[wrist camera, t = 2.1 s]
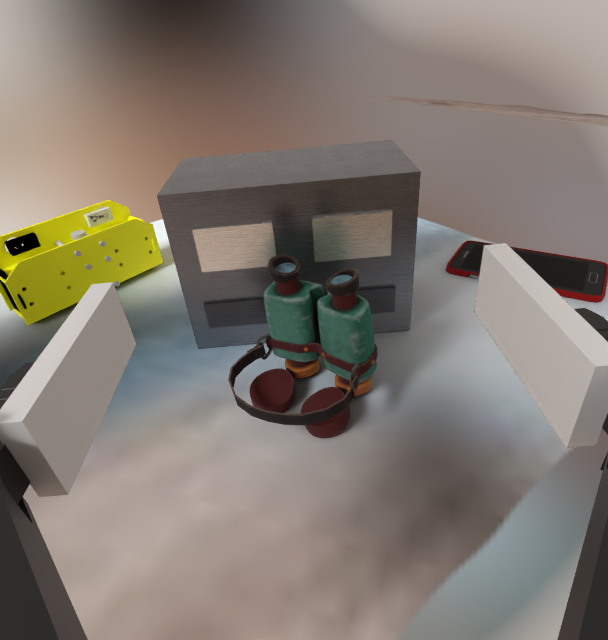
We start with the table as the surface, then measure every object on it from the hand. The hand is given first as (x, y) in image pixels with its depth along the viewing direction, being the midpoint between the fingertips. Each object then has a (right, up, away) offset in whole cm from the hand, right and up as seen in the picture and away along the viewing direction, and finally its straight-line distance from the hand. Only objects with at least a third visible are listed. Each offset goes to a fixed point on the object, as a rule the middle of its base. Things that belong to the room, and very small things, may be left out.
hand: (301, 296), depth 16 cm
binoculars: (0, -7, +17) cm, 19 cm away
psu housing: (0, 0, +28) cm, 28 cm away
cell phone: (+23, +4, +31) cm, 39 cm away
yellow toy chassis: (-24, +2, +35) cm, 42 cm away
